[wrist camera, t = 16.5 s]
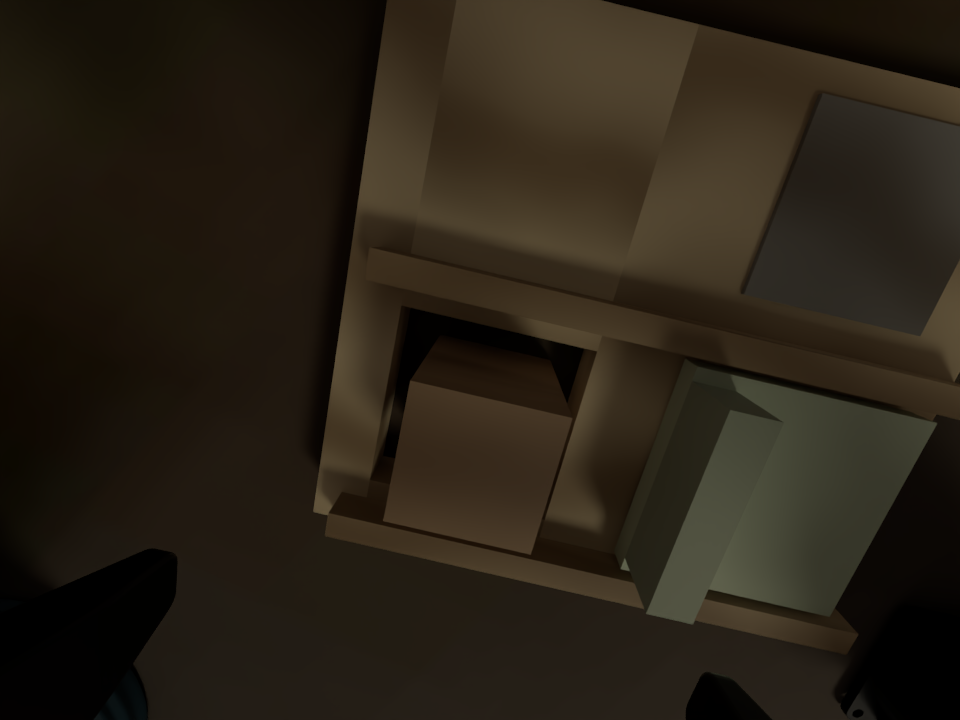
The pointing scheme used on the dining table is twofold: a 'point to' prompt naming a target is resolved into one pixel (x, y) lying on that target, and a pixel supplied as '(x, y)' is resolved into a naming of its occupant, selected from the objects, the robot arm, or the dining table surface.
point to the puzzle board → (639, 250)
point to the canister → (126, 705)
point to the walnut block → (478, 445)
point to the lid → (762, 492)
